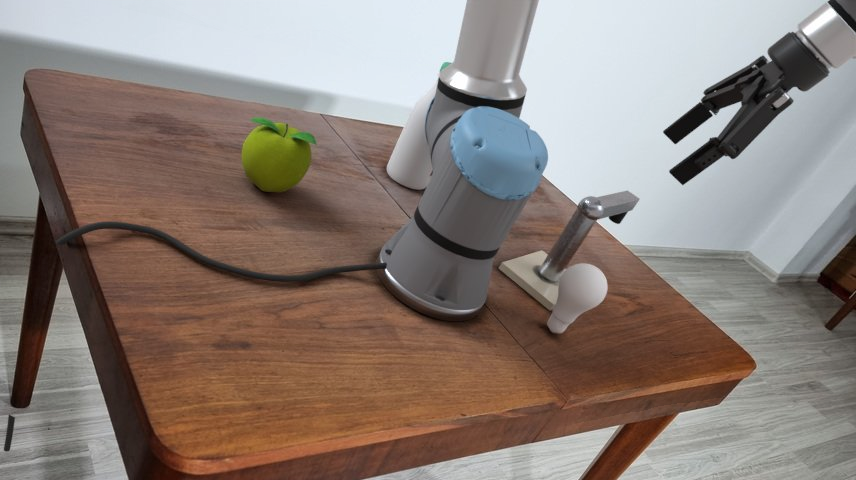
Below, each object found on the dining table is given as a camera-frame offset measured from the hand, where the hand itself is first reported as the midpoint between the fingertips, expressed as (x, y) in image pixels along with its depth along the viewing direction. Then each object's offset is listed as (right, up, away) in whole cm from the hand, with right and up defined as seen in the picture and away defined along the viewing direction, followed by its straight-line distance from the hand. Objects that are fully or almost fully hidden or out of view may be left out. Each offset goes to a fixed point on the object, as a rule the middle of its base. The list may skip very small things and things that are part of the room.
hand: (672, 157), depth 104 cm
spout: (-13, -16, +7) cm, 22 cm away
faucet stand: (-18, -18, +3) cm, 26 cm away
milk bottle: (-38, -1, +15) cm, 41 cm away
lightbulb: (-20, -25, -7) cm, 33 cm away
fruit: (-59, -5, -4) cm, 59 cm away
